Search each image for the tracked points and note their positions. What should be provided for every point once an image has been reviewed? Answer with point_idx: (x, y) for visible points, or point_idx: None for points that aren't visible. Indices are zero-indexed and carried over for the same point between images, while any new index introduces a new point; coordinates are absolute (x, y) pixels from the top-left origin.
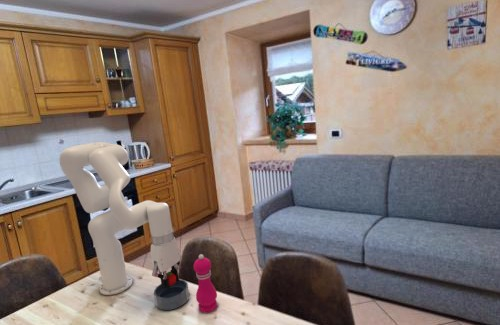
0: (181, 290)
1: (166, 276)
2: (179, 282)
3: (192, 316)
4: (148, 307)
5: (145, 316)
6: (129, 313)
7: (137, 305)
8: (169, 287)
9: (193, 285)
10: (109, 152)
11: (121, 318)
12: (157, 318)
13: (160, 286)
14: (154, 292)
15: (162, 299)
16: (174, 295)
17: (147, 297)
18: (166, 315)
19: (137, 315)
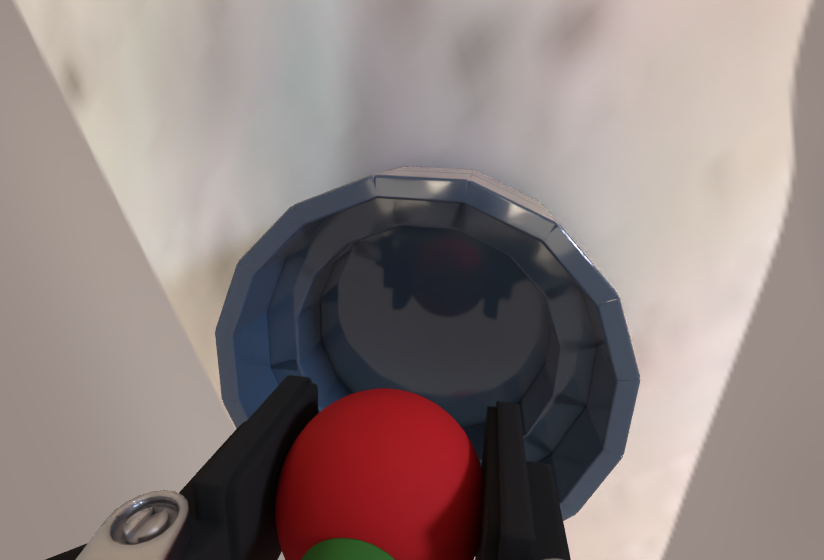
0: (547, 368)
1: (295, 546)
2: (605, 363)
3: None
4: (268, 167)
5: (181, 236)
6: (131, 50)
7: (238, 20)
8: (517, 250)
9: (719, 374)
10: None
11: (58, 36)
12: (213, 346)
13: (422, 197)
14: (263, 245)
15: (232, 407)
16: (482, 312)
17: (379, 9)
18: None
19: (154, 155)
